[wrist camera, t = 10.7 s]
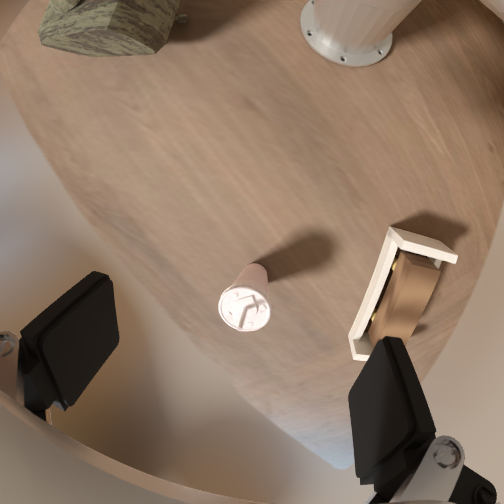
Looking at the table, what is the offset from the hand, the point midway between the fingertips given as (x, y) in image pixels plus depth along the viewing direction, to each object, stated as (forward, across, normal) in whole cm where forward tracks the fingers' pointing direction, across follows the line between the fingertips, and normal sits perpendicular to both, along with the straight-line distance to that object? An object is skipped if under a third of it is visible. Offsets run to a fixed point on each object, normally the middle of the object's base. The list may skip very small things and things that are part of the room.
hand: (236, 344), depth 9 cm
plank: (+28, -21, +11) cm, 37 cm away
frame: (+30, -21, +11) cm, 38 cm away
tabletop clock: (+31, +23, -21) cm, 44 cm away
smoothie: (+31, +1, +13) cm, 33 cm away
